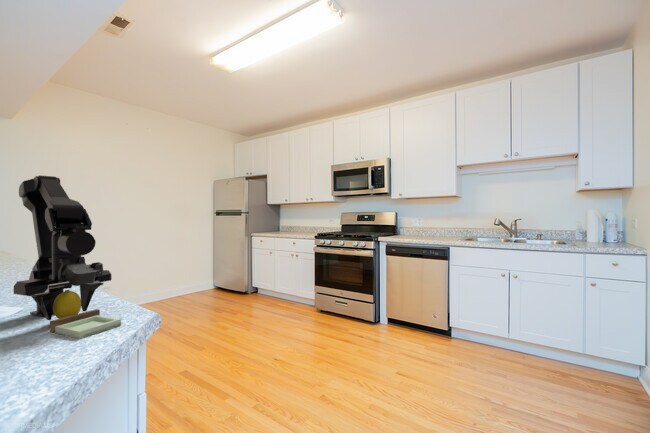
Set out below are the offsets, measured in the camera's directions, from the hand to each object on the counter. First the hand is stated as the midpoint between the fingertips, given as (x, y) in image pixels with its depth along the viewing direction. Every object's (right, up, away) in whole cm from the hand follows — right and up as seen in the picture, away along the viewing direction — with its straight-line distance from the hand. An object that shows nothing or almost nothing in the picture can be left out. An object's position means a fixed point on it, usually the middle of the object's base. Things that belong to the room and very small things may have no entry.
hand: (67, 315), depth 79 cm
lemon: (0, -2, 0) cm, 2 cm away
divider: (+5, -1, -3) cm, 6 cm away
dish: (+10, -1, -6) cm, 12 cm away
